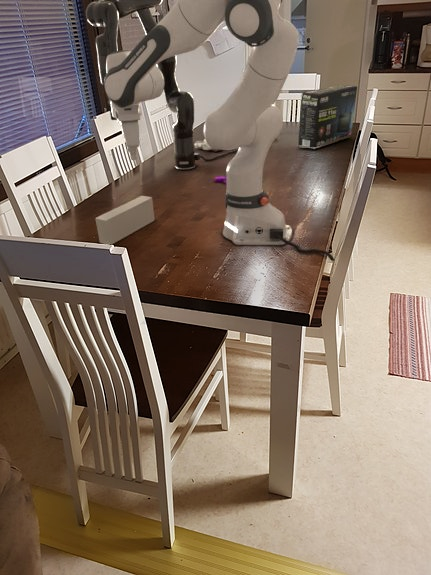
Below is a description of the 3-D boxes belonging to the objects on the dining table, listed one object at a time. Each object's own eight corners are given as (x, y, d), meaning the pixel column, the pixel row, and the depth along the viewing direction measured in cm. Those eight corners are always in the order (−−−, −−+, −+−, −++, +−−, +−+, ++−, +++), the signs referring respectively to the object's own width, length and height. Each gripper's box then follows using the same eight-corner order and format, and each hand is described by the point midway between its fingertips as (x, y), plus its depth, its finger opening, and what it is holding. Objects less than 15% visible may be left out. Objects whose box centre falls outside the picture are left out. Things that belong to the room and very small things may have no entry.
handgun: (214, 180, 197) (213, 176, 196) (231, 178, 198) (231, 174, 197) (224, 196, 180) (223, 191, 179) (243, 193, 181) (242, 189, 180)
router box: (314, 151, 231) (318, 94, 217) (296, 148, 237) (299, 92, 224) (352, 138, 251) (358, 85, 238) (335, 135, 258) (340, 83, 245)
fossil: (218, 146, 231) (198, 127, 234) (207, 163, 238) (188, 145, 241) (236, 144, 245) (217, 126, 248) (226, 160, 252) (207, 143, 255)
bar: (144, 218, 164) (142, 195, 159) (154, 220, 162) (152, 197, 157) (99, 242, 147) (95, 218, 143) (110, 245, 145) (105, 220, 141)
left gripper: (104, 67, 167) (110, 114, 175) (94, 71, 154) (102, 121, 163) (124, 66, 166) (130, 113, 175) (116, 70, 154) (123, 121, 162)
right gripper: (113, 105, 148) (120, 148, 155) (118, 116, 131) (125, 165, 138) (133, 103, 149) (138, 146, 156) (140, 115, 132) (145, 162, 139)
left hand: (116, 117), depth 169 cm, fingers open, 8 cm apart
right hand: (132, 155), depth 147 cm, fingers open, 8 cm apart
